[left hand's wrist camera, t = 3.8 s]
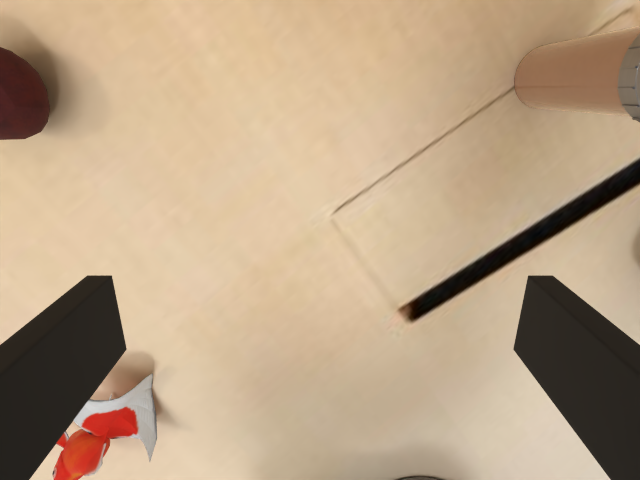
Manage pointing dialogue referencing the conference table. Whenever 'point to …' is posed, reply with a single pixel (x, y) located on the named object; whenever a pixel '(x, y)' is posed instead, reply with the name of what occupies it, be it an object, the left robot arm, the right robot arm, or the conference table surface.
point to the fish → (107, 430)
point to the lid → (630, 80)
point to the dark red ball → (21, 98)
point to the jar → (576, 74)
